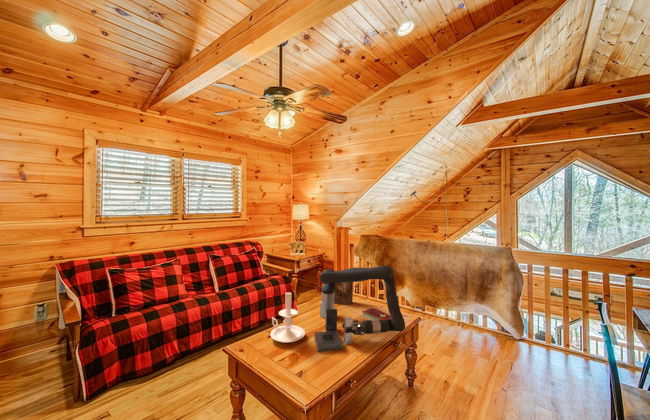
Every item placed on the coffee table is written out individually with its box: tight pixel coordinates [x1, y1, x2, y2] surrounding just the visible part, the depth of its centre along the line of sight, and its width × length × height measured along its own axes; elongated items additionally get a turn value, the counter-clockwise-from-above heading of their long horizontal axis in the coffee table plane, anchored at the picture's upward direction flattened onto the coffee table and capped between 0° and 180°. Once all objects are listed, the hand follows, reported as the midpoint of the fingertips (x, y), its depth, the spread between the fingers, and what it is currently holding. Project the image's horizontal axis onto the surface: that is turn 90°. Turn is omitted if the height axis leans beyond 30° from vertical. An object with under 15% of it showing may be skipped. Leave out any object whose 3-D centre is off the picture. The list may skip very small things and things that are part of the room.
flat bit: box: [324, 308, 338, 332], centre depth 174 cm, size 7×2×14 cm, turn 100°
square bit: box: [343, 316, 354, 345], centre depth 160 cm, size 4×4×14 cm
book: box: [334, 270, 354, 305], centre depth 220 cm, size 16×6×25 cm, turn 84°
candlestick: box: [270, 292, 306, 344], centre depth 164 cm, size 21×25×28 cm
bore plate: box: [313, 330, 344, 353], centre depth 157 cm, size 14×14×4 cm
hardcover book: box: [361, 306, 393, 320], centre depth 192 cm, size 12×21×4 cm, turn 38°
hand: (344, 328), depth 159 cm, fingers open, 5 cm apart
